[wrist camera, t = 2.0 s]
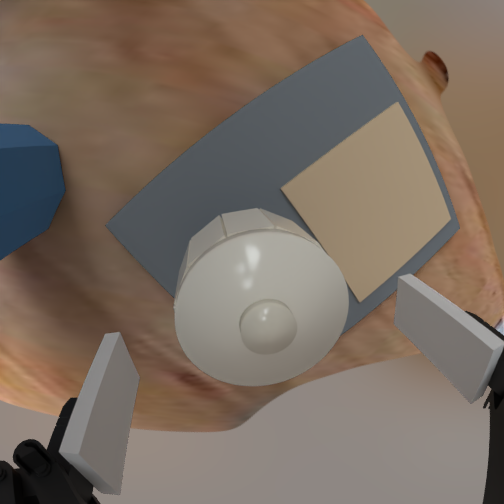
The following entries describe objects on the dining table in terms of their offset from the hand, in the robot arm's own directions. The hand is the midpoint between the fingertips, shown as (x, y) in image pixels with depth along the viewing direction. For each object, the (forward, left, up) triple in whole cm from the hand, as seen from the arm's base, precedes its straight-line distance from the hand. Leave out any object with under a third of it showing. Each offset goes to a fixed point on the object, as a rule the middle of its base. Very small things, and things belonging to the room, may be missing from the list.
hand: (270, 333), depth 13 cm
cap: (0, 0, -5) cm, 5 cm away
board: (+2, +6, -11) cm, 12 cm away
